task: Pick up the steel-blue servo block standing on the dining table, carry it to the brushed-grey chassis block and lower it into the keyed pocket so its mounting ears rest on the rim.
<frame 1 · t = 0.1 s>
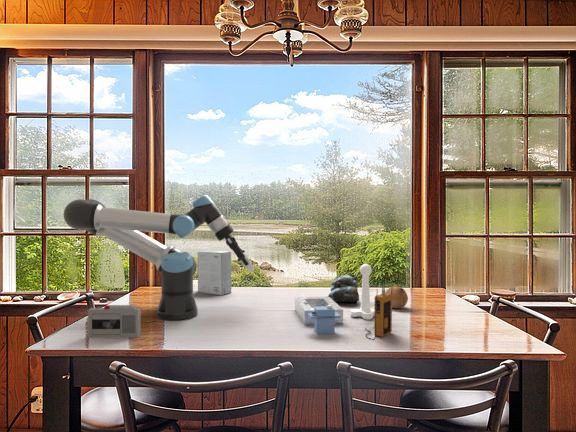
hand: (251, 268, 181), 15 cm above the table, tool tilted 35°, fingers open, 13 cm apart
onion: (395, 308, 177), on the table
cassette player: (114, 337, 138), on the table
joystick: (366, 317, 162), on the table
chassis: (317, 316, 164), on the table
hard drive box: (214, 292, 207), on the table
servo: (324, 331, 143), on the table
multimeter: (373, 333, 143), on the table
dark grey rock: (342, 302, 188), on the table
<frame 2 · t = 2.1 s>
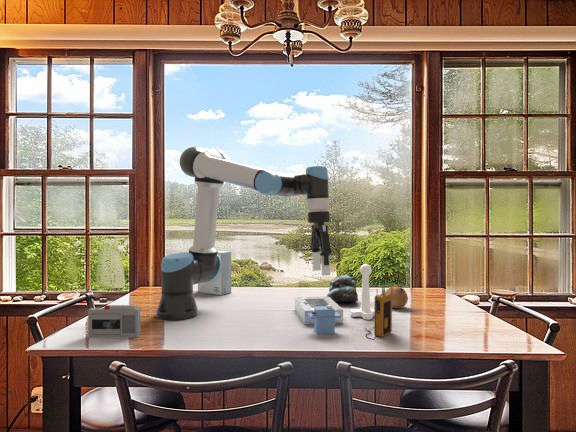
hand: (321, 272, 147), 19 cm above the table, tool pointing down, fingers open, 13 cm apart
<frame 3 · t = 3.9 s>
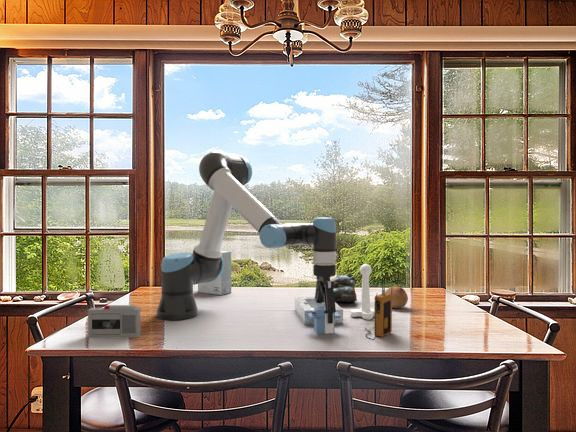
hand: (324, 327, 143), 2 cm above the table, tool pointing down, fingers open, 13 cm apart
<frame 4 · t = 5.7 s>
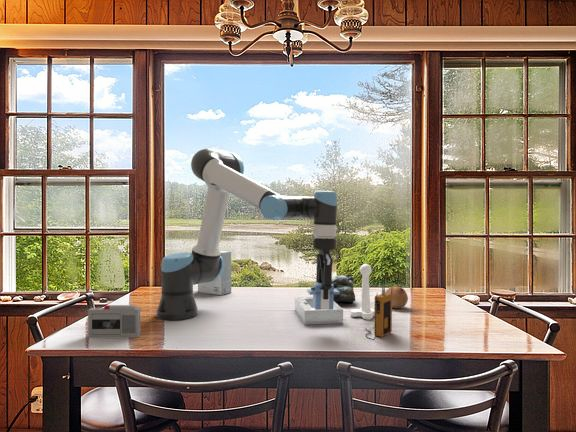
hand: (323, 306, 144), 8 cm above the table, tool pointing down, fingers closed on servo, 4 cm apart
servo: (322, 307, 144), point 8 cm above the table, touching gripper
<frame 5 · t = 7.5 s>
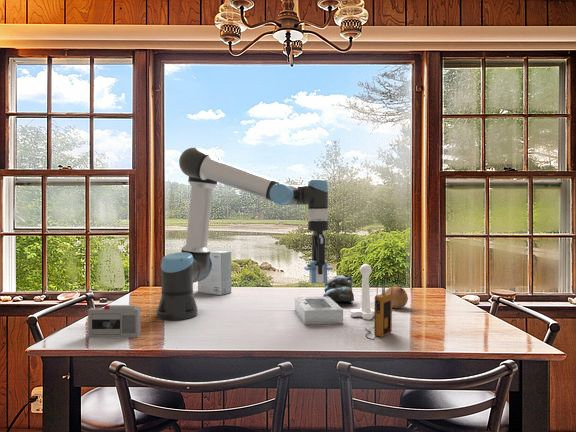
hand: (318, 281, 163), 13 cm above the table, tool pointing down, fingers closed on servo, 4 cm apart
servo: (318, 282, 163), point 13 cm above the table, touching gripper
when the fingers open (0 cm above the table, at t = 9.5 s): servo stays where it is, resting on chassis.
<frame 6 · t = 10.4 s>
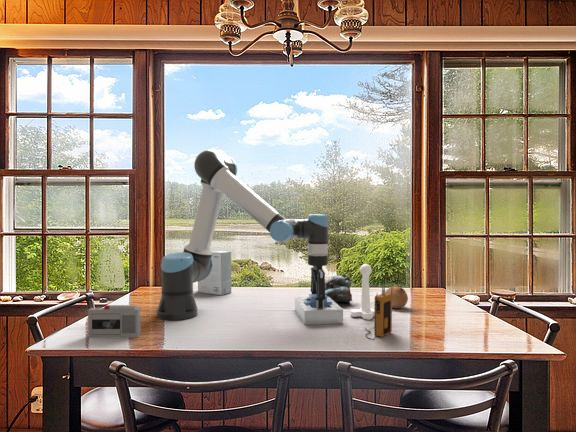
hand: (317, 314, 164), 1 cm above the table, tool pointing down, fingers open, 8 cm apart
servo: (317, 316, 164), resting on chassis
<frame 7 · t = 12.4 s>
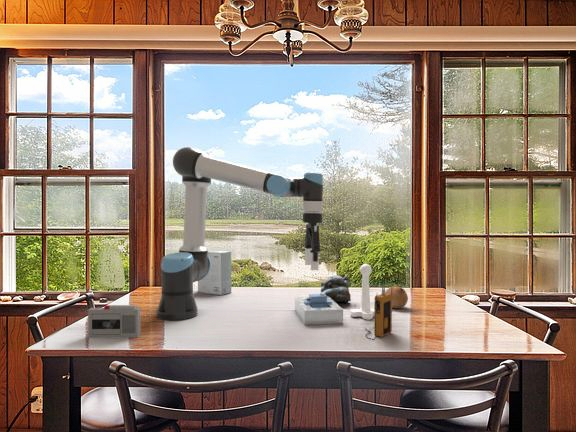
hand: (311, 267, 166), 18 cm above the table, tool pointing down, fingers open, 13 cm apart
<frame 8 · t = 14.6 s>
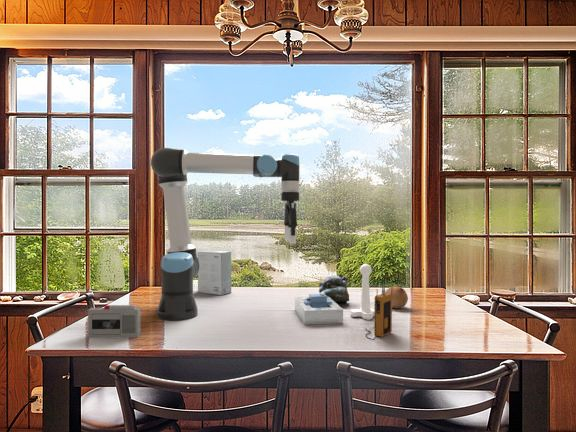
hand: (290, 242, 180), 27 cm above the table, tool pointing down, fingers open, 13 cm apart
at the end: servo inside the target area on the chassis (0.1 cm from its centre), point 0.0 cm above the chassis's base; servo tilted 0°; the gripper is holding nothing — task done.
